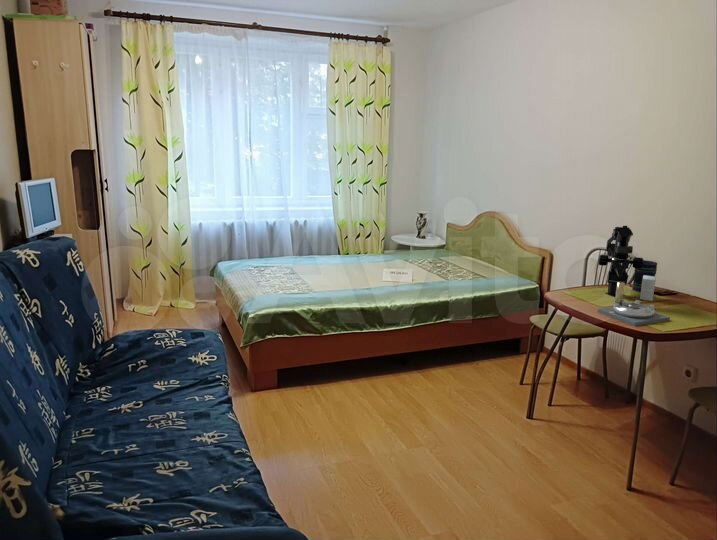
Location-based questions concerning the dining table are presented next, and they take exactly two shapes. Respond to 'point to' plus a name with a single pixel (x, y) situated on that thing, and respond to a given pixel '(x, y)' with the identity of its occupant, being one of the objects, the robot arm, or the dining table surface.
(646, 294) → the small box
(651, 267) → the storage jar
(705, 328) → the dining table surface
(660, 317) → the housing plate
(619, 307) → the metal disc with post
